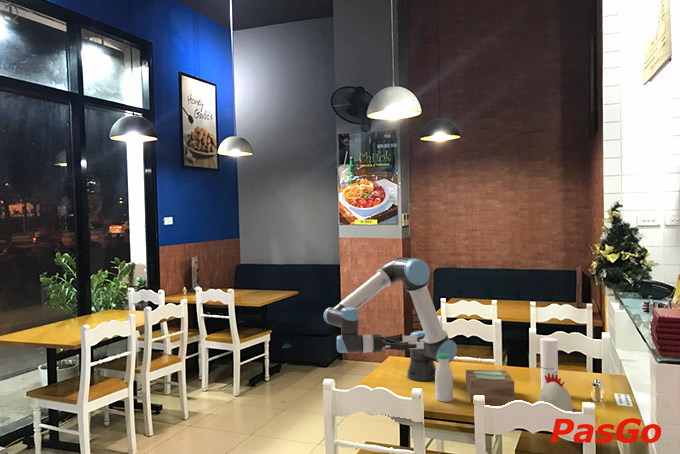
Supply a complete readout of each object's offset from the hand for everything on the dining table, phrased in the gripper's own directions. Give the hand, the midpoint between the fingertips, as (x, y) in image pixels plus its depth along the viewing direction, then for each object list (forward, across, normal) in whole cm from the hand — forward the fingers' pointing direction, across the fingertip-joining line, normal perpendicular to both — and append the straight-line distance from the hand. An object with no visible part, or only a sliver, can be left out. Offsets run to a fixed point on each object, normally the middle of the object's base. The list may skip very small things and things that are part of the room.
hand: (420, 341), depth 240 cm
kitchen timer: (+52, +19, -26) cm, 61 cm away
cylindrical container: (+58, +1, -26) cm, 63 cm away
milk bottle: (+11, 0, -26) cm, 28 cm away
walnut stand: (+31, 0, -26) cm, 40 cm away
